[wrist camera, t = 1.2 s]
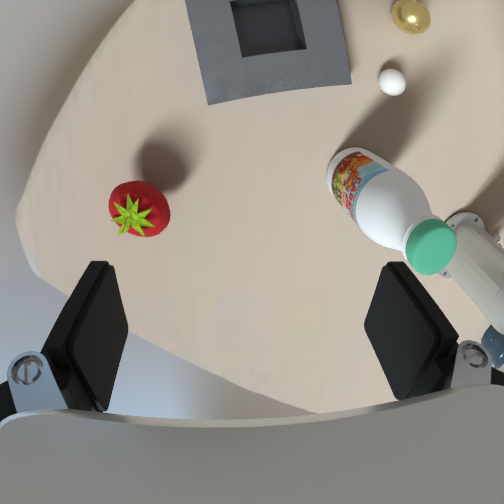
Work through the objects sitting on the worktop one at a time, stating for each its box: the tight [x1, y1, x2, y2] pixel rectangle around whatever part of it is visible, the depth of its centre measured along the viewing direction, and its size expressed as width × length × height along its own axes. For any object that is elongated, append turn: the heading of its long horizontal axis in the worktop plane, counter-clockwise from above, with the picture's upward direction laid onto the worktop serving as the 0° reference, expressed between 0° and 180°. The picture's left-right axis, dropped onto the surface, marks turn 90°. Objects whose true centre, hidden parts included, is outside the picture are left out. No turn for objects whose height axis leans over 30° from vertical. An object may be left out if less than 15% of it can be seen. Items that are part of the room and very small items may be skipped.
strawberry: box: [109, 181, 170, 237], centre depth 34 cm, size 6×8×10 cm
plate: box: [185, 0, 352, 105], centre depth 27 cm, size 16×16×3 cm
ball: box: [378, 69, 406, 96], centre depth 31 cm, size 4×4×4 cm
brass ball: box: [392, 0, 431, 34], centre depth 25 cm, size 5×5×5 cm
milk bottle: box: [326, 147, 457, 275], centre depth 30 cm, size 8×8×20 cm
